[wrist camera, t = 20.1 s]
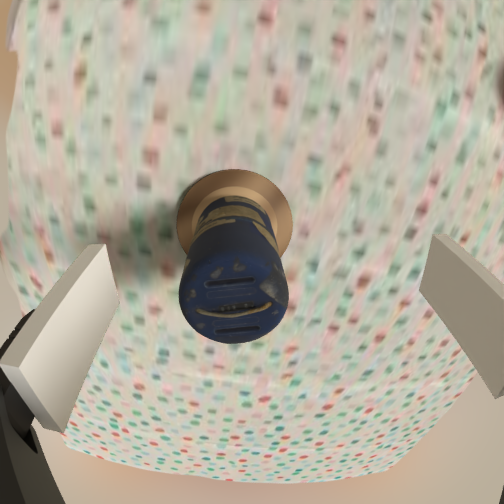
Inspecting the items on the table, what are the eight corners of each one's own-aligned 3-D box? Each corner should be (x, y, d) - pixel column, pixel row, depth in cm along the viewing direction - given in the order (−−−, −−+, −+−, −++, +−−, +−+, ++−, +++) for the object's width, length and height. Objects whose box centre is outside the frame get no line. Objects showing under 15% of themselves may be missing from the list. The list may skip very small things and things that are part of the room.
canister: (201, 187, 39) (175, 254, 22) (278, 197, 40) (305, 270, 23) (194, 256, 43) (172, 350, 27) (264, 264, 44) (278, 361, 28)
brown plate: (155, 222, 41) (153, 224, 40) (239, 144, 37) (239, 145, 36) (231, 293, 47) (231, 296, 46) (314, 230, 43) (315, 232, 42)
